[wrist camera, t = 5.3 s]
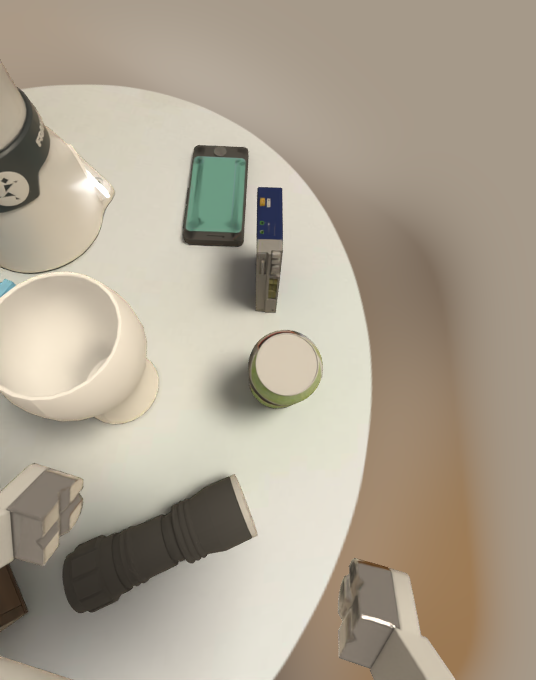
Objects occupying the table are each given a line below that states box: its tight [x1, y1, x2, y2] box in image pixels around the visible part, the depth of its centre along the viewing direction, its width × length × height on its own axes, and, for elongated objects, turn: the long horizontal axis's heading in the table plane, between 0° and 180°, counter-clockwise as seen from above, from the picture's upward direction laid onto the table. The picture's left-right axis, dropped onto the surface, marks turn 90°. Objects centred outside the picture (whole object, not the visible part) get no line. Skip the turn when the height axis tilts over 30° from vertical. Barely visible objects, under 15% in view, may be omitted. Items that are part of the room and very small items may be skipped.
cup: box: [0, 272, 159, 424], centre depth 33 cm, size 11×11×15 cm
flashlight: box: [63, 474, 258, 613], centre depth 33 cm, size 15×5×5 cm, turn 113°
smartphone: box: [183, 145, 248, 246], centre depth 49 cm, size 7×1×15 cm
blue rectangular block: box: [256, 187, 283, 313], centre depth 40 cm, size 7×2×12 cm, turn 0°
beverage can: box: [248, 330, 323, 408], centre depth 35 cm, size 6×7×12 cm
